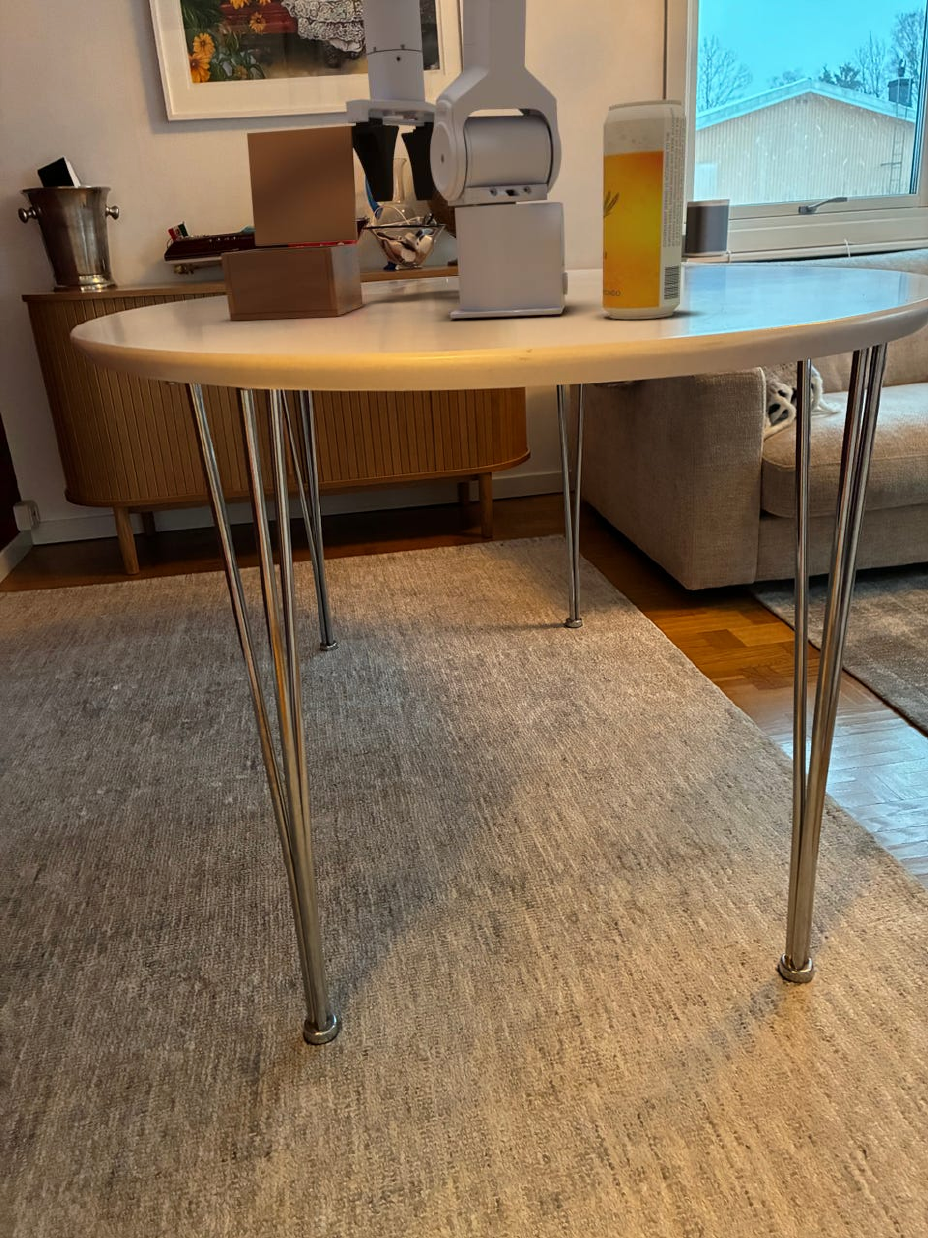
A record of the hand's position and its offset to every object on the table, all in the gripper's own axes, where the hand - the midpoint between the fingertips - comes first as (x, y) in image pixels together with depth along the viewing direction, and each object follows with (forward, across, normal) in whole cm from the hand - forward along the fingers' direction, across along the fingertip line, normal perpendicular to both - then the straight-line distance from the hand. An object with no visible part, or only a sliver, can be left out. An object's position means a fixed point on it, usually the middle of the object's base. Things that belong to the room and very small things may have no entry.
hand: (405, 200), depth 100 cm
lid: (-2, +11, -5) cm, 12 cm away
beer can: (+10, +15, +34) cm, 39 cm away
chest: (+10, +16, -3) cm, 19 cm away
